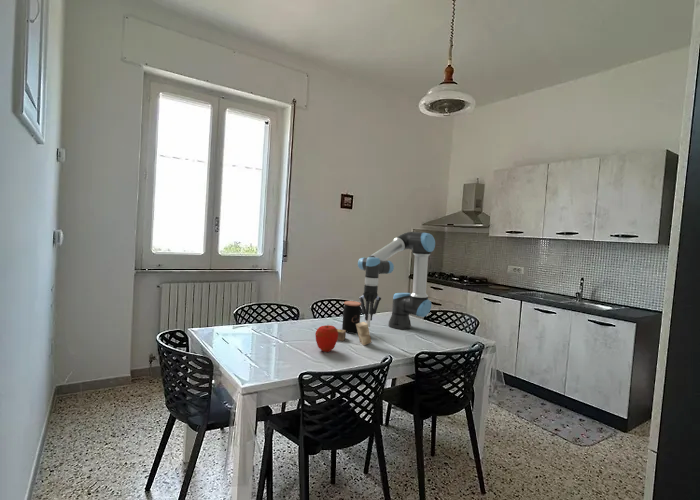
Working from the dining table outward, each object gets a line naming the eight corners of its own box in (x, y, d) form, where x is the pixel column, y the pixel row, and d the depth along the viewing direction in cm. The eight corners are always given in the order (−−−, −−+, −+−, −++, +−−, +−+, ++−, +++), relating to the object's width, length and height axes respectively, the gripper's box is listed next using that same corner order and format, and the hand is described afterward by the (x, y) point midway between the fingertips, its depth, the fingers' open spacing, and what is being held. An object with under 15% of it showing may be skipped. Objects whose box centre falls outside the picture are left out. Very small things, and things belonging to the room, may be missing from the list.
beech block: (368, 339, 227) (364, 321, 225) (371, 342, 221) (367, 324, 219) (359, 342, 225) (355, 324, 223) (363, 345, 219) (359, 326, 218)
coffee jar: (352, 334, 239) (354, 305, 238) (338, 330, 245) (340, 302, 244) (362, 331, 247) (364, 303, 246) (348, 327, 254) (351, 300, 253)
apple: (325, 345, 214) (327, 320, 213) (342, 351, 206) (344, 324, 206) (309, 350, 204) (311, 323, 204) (326, 356, 197) (328, 328, 196)
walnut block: (346, 330, 230) (327, 327, 232) (343, 332, 224) (325, 330, 227) (345, 338, 230) (327, 336, 233) (342, 341, 225) (324, 338, 227)
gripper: (379, 284, 227) (376, 324, 228) (358, 283, 222) (354, 324, 224) (384, 286, 219) (381, 327, 221) (362, 285, 215) (359, 328, 217)
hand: (367, 326), depth 222 cm, fingers closed
